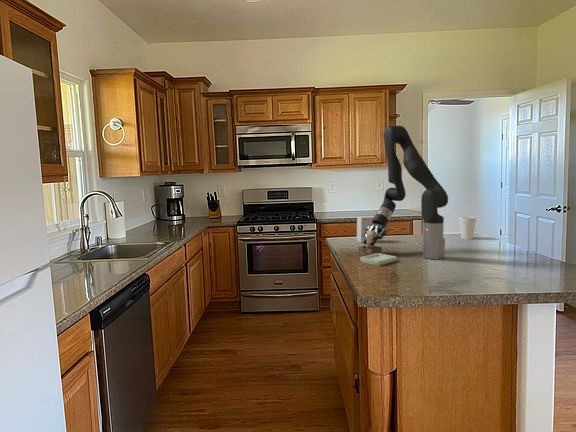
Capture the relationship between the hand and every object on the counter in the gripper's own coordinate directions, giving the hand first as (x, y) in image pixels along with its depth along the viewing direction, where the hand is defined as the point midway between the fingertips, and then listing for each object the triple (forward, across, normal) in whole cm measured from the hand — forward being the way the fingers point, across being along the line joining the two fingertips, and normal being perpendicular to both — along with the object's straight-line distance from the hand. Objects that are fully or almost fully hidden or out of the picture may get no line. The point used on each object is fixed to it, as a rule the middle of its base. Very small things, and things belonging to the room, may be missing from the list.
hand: (368, 243), depth 205 cm
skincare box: (-16, -23, +24) cm, 37 cm away
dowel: (+3, 0, +5) cm, 6 cm away
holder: (+3, 0, +5) cm, 6 cm away
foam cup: (-50, +16, +58) cm, 78 cm away
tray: (+10, +12, -2) cm, 16 cm away
